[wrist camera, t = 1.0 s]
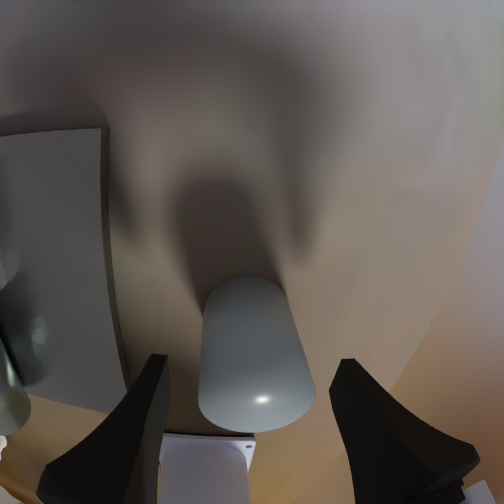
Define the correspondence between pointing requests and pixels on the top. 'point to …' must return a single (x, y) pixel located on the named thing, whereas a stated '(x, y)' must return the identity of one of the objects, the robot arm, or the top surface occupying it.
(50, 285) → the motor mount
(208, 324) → the grey rounded capsule
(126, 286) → the top surface
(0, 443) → the lid
